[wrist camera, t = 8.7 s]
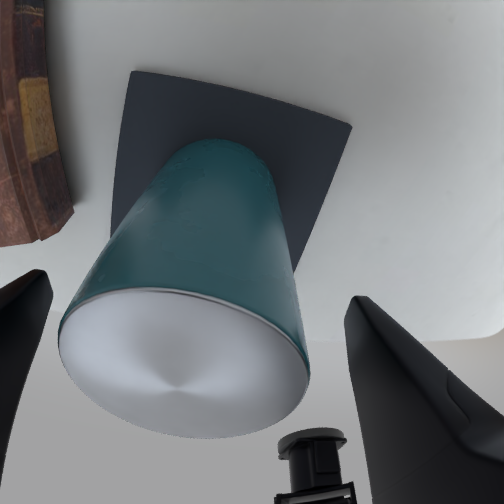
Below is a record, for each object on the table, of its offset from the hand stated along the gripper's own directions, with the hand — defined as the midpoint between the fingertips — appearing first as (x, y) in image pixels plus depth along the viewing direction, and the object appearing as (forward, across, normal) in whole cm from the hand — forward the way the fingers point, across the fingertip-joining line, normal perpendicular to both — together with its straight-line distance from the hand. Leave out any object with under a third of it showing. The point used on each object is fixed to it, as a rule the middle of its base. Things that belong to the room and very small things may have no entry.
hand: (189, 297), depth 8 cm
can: (+7, 0, 0) cm, 7 cm away
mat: (+8, 0, 0) cm, 8 cm away
